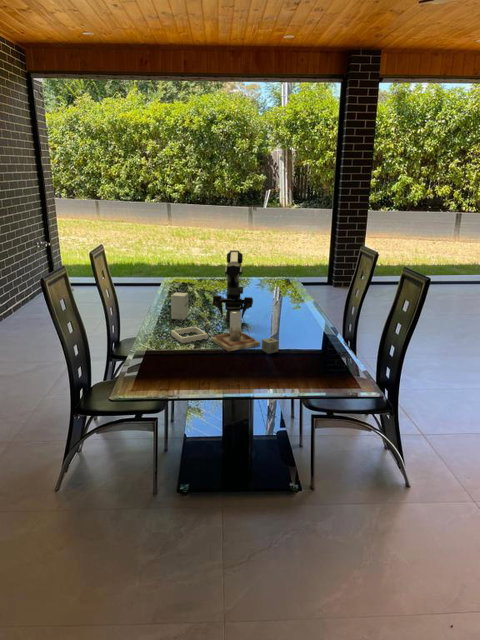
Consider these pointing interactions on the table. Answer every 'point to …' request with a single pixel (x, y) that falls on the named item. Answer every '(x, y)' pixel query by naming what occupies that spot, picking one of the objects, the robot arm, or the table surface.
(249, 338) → the tray
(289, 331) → the table surface
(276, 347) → the dice cube
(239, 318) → the disc
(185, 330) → the frame
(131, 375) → the table surface
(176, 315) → the supplement box
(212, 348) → the table surface
